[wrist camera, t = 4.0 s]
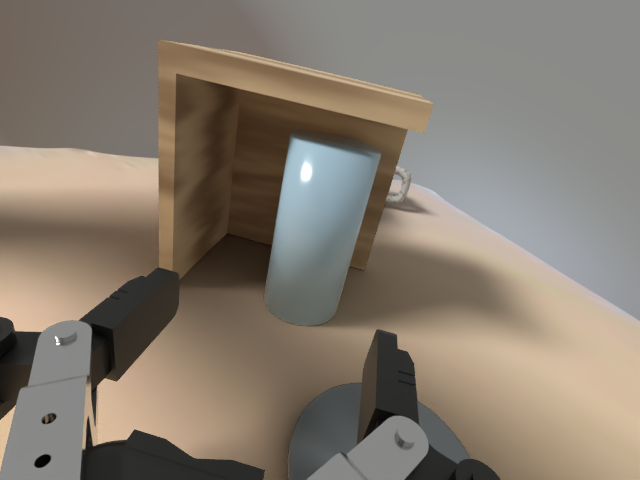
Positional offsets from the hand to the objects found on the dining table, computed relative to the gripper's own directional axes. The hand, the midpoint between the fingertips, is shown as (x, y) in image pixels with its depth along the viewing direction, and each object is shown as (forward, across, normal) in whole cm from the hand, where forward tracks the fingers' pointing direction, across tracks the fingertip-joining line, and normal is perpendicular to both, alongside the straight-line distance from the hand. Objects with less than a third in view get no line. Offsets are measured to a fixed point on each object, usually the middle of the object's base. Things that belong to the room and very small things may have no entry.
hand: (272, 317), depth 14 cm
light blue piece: (+12, 0, +7) cm, 14 cm away
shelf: (+14, +3, +7) cm, 16 cm away
